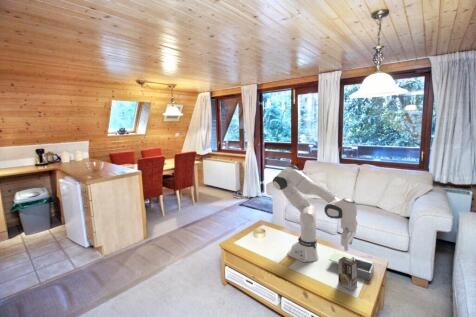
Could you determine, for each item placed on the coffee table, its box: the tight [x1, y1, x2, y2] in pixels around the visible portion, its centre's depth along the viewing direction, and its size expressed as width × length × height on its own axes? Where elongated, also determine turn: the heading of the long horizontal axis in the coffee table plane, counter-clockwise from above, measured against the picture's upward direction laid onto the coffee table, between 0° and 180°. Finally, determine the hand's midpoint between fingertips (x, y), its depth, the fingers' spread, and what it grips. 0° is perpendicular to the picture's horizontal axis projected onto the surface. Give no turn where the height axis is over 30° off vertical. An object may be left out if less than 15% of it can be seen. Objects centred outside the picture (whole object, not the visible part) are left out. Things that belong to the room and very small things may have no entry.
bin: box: [355, 258, 375, 282], centre depth 162 cm, size 15×13×5 cm
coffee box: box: [337, 257, 358, 292], centre depth 149 cm, size 9×6×16 cm
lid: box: [328, 251, 357, 264], centre depth 169 cm, size 15×13×3 cm
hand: (348, 247), depth 147 cm, fingers open, 8 cm apart
